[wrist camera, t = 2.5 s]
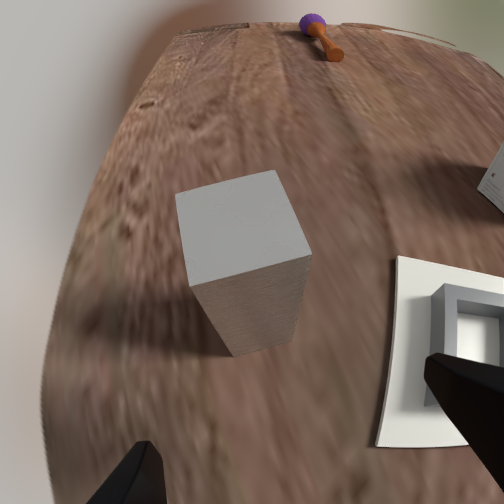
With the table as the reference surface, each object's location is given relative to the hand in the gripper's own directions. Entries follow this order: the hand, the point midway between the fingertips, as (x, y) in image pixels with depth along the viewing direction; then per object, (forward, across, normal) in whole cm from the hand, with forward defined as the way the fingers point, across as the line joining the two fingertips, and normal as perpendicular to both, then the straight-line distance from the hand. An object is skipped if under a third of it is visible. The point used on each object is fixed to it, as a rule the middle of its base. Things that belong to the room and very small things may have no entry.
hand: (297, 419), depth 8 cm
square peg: (+15, 0, +4) cm, 15 cm away
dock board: (+9, -17, +11) cm, 22 cm away
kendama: (+51, -28, -31) cm, 66 cm away
